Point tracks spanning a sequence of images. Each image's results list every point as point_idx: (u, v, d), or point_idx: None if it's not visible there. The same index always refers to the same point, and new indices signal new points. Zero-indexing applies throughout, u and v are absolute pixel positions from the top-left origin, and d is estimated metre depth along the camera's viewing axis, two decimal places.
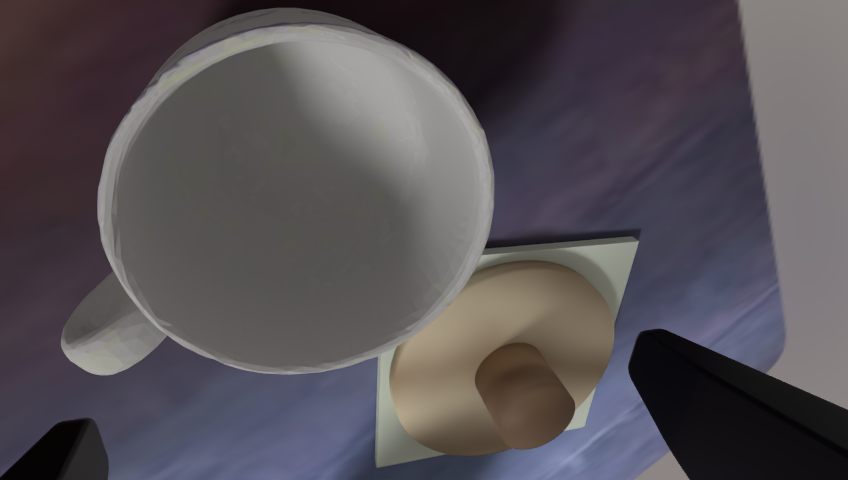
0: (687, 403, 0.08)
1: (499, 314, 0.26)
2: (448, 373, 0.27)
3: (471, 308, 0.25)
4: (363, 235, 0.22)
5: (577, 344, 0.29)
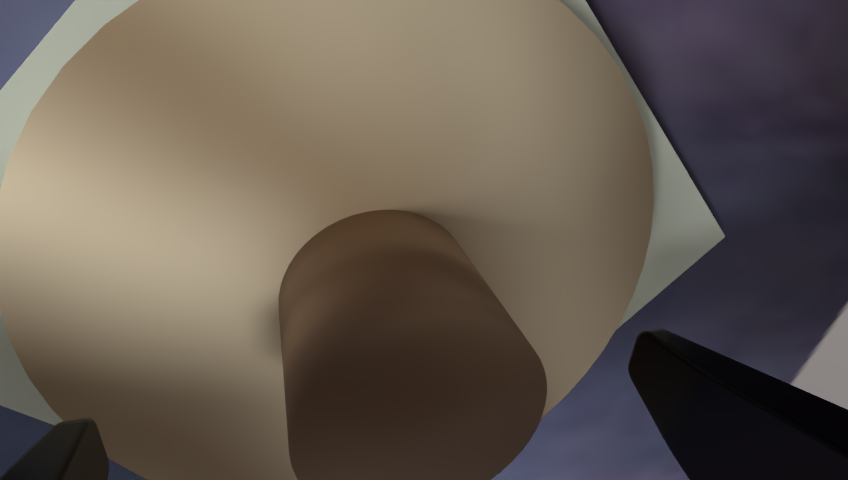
0: (687, 403, 0.08)
1: (486, 122, 0.10)
2: (257, 170, 0.09)
3: (458, 30, 0.09)
4: None
5: None
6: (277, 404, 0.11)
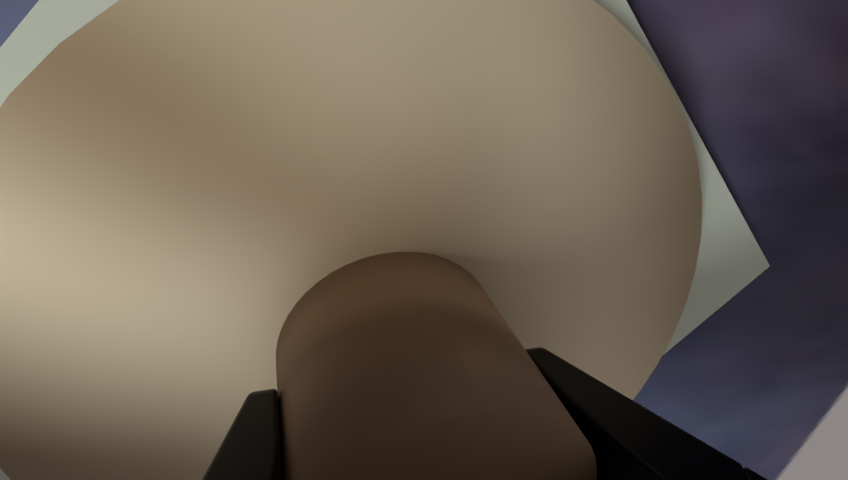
0: None
1: (517, 151, 0.08)
2: (249, 211, 0.07)
3: (488, 45, 0.07)
4: None
5: None
6: None
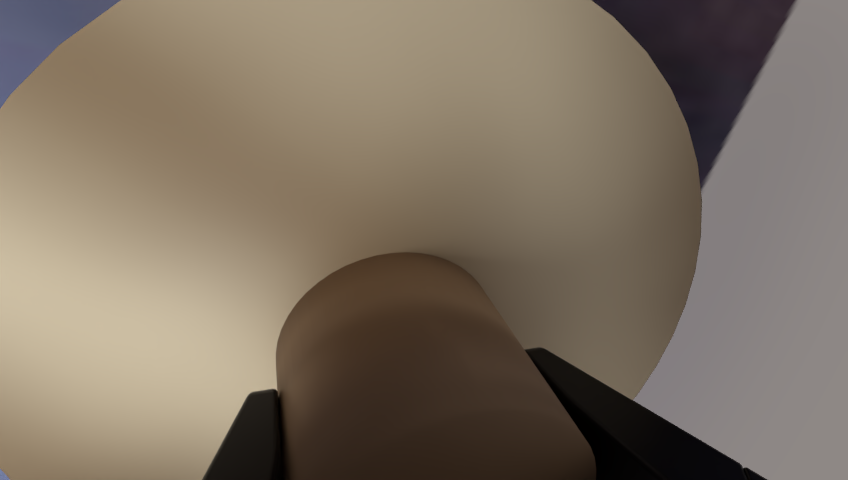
0: None
1: (517, 151, 0.08)
2: (249, 212, 0.07)
3: (488, 46, 0.07)
4: None
5: None
6: None
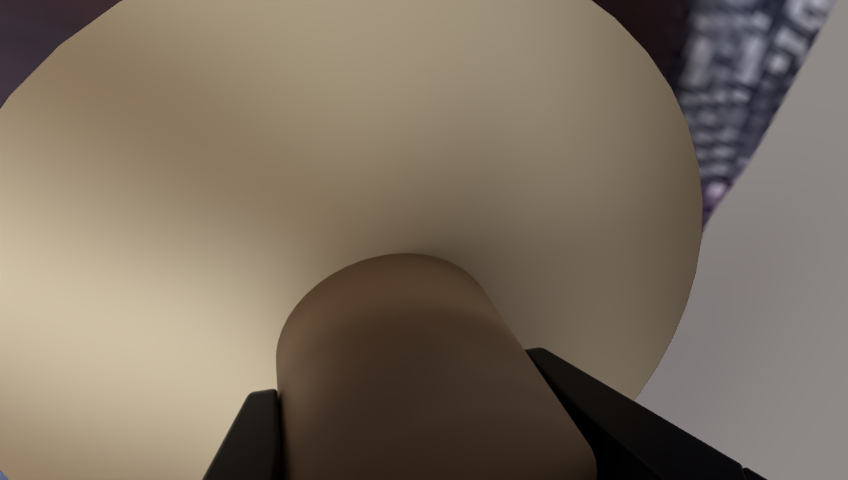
0: None
1: (518, 152, 0.08)
2: (249, 213, 0.07)
3: (489, 47, 0.07)
4: None
5: None
6: None
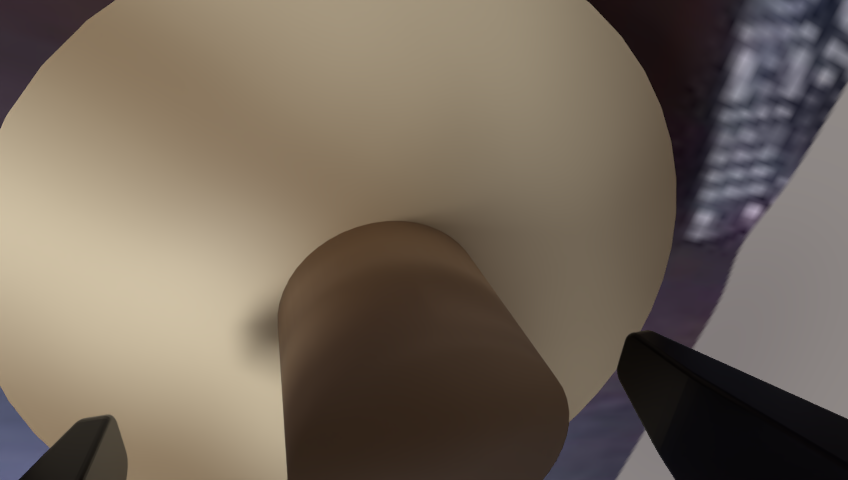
0: (674, 405, 0.08)
1: (502, 128, 0.09)
2: (255, 179, 0.08)
3: (474, 29, 0.08)
4: None
5: None
6: (276, 425, 0.11)
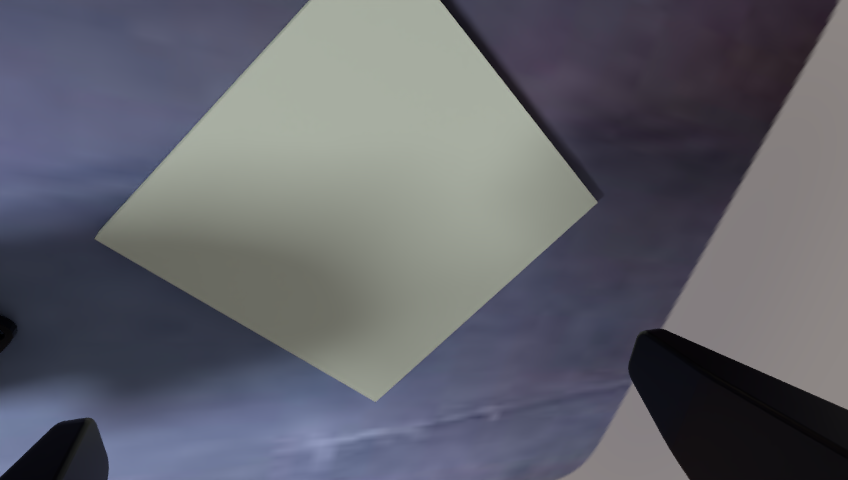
0: (687, 403, 0.08)
1: None
2: None
3: None
4: None
5: None
6: None
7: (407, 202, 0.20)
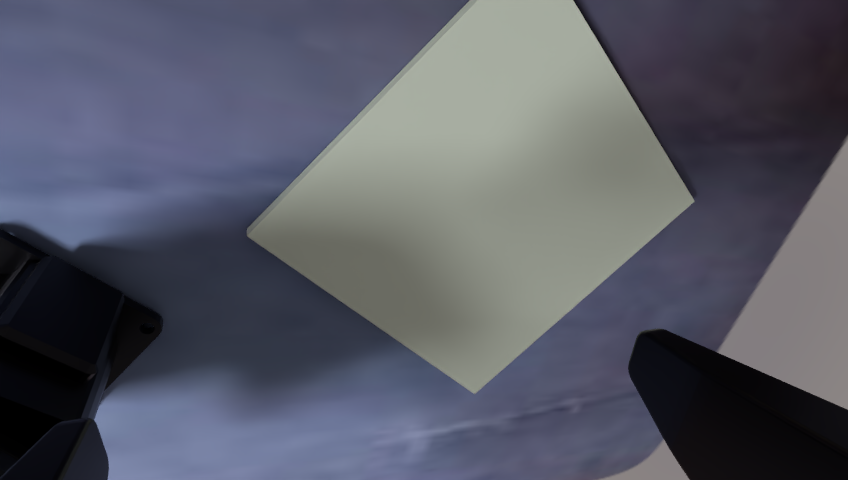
0: (687, 403, 0.08)
1: None
2: None
3: None
4: None
5: None
6: None
7: (527, 201, 0.21)
